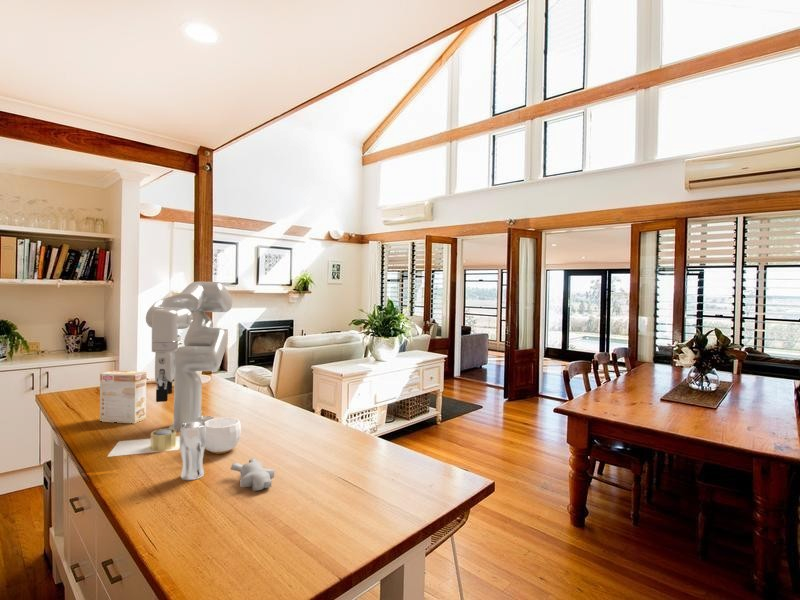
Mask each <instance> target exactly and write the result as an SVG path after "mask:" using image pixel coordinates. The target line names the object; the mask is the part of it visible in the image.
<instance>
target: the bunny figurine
mask: <svg viewBox="0 0 800 600" xmlns="http://www.w3.org/2000/svg"><path fill="white" fill-rule="evenodd" d="M262 463H263V462H261V461H259V460H257V459H256V458H250V459H249V460H248V462H247V463H244V464H241V463H239V462H233V463H232V464H231V465H230V466H231V467H230V470H232V471H236V472H240V482H239V483H240V484H239V486H240V487H241V488H245V487H246V488H247V487H248V488H249V487H250V488H251V487H252V488H251V489H253V490H252V491H253V492H256V491H262V490H263V489H268V488H271V487H272V482H273V481H272V479H274V478H275V470H274V469H273V468H272V469H271V468H264V467H263V464H262Z"/></svg>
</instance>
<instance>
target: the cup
mask: <svg viewBox="0 0 800 600" xmlns="http://www.w3.org/2000/svg"><path fill="white" fill-rule="evenodd" d="M205 423H206V446H205V450H207V451H209V452H211V453H212V454H214V453H215V454H216V455H221V454H222V453H223V454H226V453H228V452H230V451H231V450H233V449H234V448H235V447H236V446H237V444H238V443H239V440H240V438H241V435H242V425H241V422H240V420H239V418H236V417H231V416H230V417H229V416H226V417H223V416H221V417H214V419H210V420H208V421H206V422H205Z"/></svg>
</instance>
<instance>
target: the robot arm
mask: <svg viewBox="0 0 800 600" xmlns="http://www.w3.org/2000/svg"><path fill="white" fill-rule="evenodd" d="M232 307H233V299H232V295H231V293H230V292H229V291H228V290H227V287H225V285H224V284H223V283H221V282H219V281H193V282H191V283H189V284H188V285H187V286H186V287H185V288H184V289H183V290H182V291H181V292H180V293H178V294H175V295H170V296H167V297H164V298H161V299H159V300H158V301H156V302H154V303H153V304H152V305H151V306H150V307H149V309H148V310H147V311H146V315H145V323H146V325H147V326H148V327H150V328H151V352H152V353H154V354H155V355H154V381H155V383H156V389H155V390H156V391H155V393H156V394H155V398H156V399H155V402H156V403H161V402H163V403H164V402H167V401H168V397H169V396H168V395H171V394H173V423H171V424H170V425H169V426H168V428H169V429H175V430H176V432H180V429H181V425H182V424H184V423H187V422H193V421H201V422H206V421H208V420H210V419H214V418H215V417H214V416H211V415H209V416H205V415H203V412H202V392H203V391H202V387H203V386H202V384H203V383H202V379H201V377H200V376H199V374H198V372H214V371H217V370H218V369H219V368H220V366H221V364H222V360H223V357H224V355H225V352H226V349H227V345H228V334H227V331H226V330H225V329H224V328H222V327H214V323H213V320H212V319H211V318H210V316H209V315H208V314H206V313H227V312H229V311H230V310H231V309H232ZM187 328H188V329H187ZM184 329H187V332H186V333H185V336H184V340H183V344H184V345H183V346H179V345H178V344H179V343H178V337H179V336H178V330H184ZM178 346H179V347H178Z"/></svg>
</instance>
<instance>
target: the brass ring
mask: <svg viewBox="0 0 800 600" xmlns="http://www.w3.org/2000/svg"><path fill="white" fill-rule="evenodd" d="M161 430H171V431H172V433H170V434H166V435H155V433H156V432H157V431H161ZM176 436H177V431H176V430H175V429H169V427H168V428H160V429H156V430H153V431H151V433H150V439H151V450H153V451H162V452H166V451H165V450H169V449H172V448H174V447H175V446H176Z"/></svg>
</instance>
